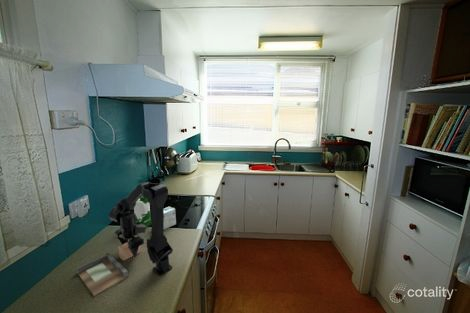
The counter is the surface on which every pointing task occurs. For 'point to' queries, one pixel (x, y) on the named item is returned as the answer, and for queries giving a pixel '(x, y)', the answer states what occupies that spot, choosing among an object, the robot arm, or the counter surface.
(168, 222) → the light bulb box
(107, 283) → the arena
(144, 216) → the milk carton
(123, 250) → the terracotta block
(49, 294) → the counter surface
